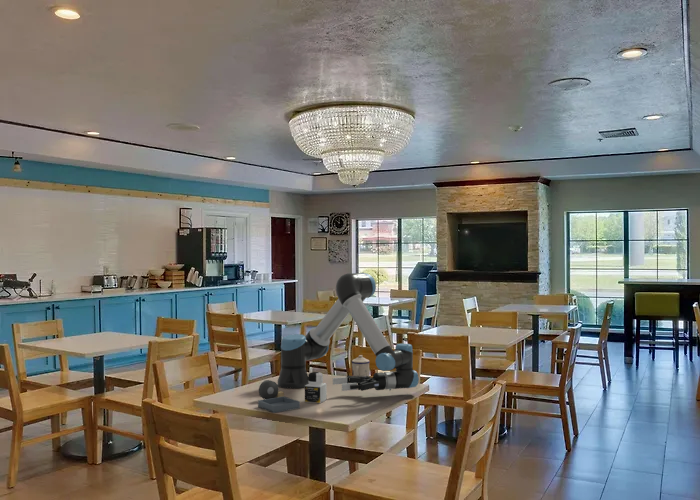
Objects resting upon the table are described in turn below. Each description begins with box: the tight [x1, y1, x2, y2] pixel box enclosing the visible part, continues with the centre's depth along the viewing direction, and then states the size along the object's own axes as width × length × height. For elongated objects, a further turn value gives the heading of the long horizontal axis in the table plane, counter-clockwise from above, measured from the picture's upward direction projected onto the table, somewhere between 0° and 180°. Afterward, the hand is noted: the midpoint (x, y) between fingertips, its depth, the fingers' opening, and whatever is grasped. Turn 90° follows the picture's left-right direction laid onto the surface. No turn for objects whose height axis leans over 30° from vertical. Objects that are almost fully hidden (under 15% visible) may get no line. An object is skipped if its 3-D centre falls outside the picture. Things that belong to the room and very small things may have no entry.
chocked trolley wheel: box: [258, 379, 285, 400], centre depth 260 cm, size 3×11×8 cm, turn 128°
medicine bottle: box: [304, 371, 327, 404], centre depth 256 cm, size 7×7×12 cm
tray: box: [257, 395, 301, 414], centre depth 245 cm, size 12×12×3 cm
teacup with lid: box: [351, 354, 370, 377], centre depth 303 cm, size 12×9×12 cm
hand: (337, 384), depth 259 cm, fingers open, 13 cm apart
